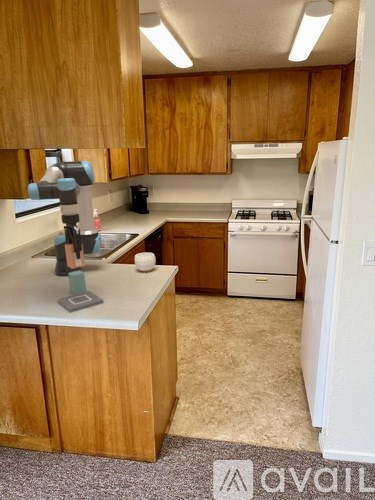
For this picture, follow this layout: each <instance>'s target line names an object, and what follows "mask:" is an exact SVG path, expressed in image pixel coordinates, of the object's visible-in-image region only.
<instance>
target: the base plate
mask: <svg viewBox="0 0 375 500" xmlns="http://www.w3.org/2000/svg"><path fill="white" fill-rule="evenodd" d="M56 300H57V303H58V304H59V305H61V307H63V308H64V309H65V310H66V311H67V312H69V313H74V312H77V311H79V310H83V309H86V308H87V309H88V308H90V307H93V306H97V305H101V304H104V299H102V298H101V297H100V296H99V295H96V294H95V293H94V292H92V291H90V290H88V291H87V290H86V292H83V293H79V294H72V295H68V296H64V297H61V298H57V299H56Z"/></svg>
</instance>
